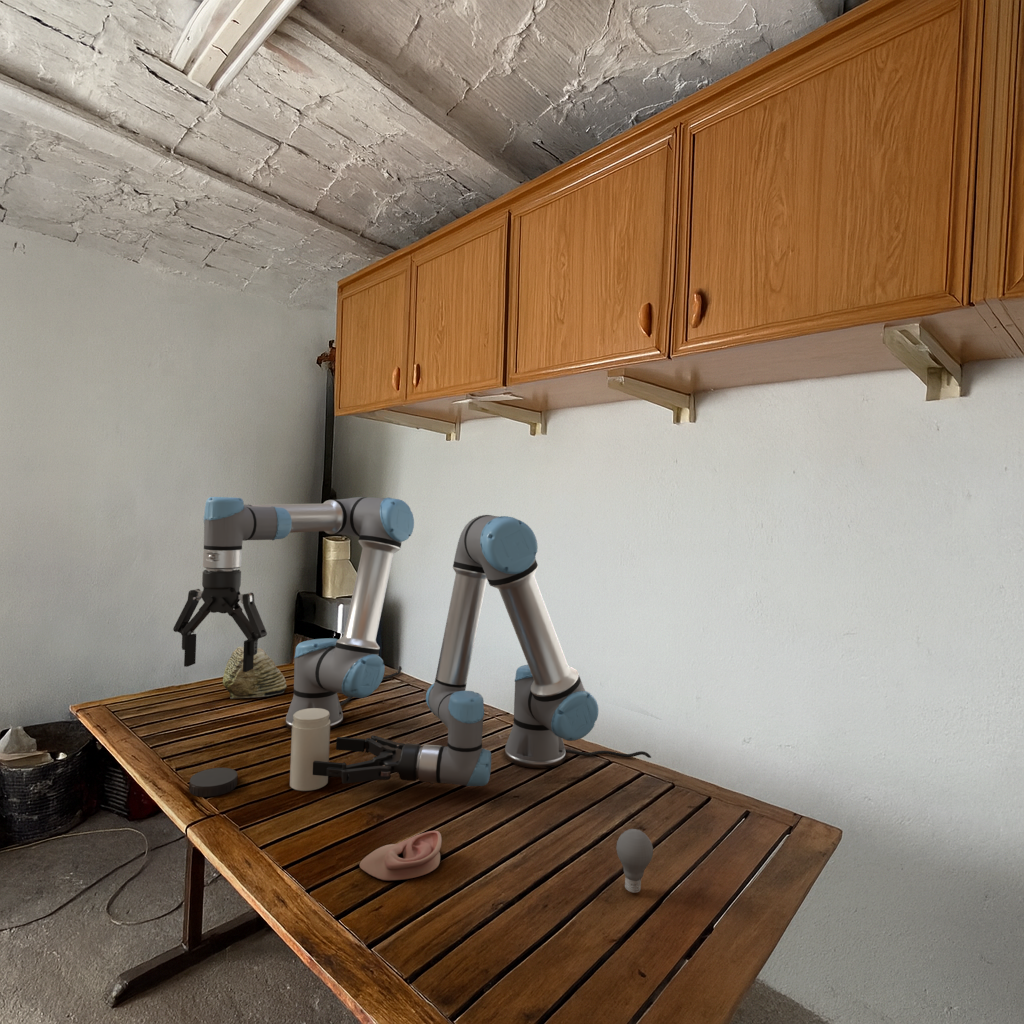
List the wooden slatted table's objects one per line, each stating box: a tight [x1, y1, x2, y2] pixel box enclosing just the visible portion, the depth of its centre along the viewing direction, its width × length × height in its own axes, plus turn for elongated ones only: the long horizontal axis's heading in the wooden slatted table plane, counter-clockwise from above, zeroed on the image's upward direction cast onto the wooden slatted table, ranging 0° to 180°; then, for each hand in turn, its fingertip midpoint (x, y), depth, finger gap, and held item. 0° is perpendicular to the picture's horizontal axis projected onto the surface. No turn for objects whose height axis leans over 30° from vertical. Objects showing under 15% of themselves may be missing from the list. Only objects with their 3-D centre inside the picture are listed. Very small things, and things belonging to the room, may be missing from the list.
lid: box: [188, 767, 239, 798], centre depth 136 cm, size 9×9×2 cm
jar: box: [289, 708, 331, 792], centre depth 140 cm, size 8×8×15 cm
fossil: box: [222, 646, 288, 699], centre depth 198 cm, size 9×18×15 cm, turn 132°
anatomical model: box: [359, 830, 443, 882], centre depth 111 cm, size 13×4×12 cm
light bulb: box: [615, 828, 654, 894], centre depth 106 cm, size 6×6×10 cm
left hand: (218, 667), depth 136 cm, fingers open, 13 cm apart
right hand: (325, 755), depth 140 cm, fingers open, 13 cm apart
